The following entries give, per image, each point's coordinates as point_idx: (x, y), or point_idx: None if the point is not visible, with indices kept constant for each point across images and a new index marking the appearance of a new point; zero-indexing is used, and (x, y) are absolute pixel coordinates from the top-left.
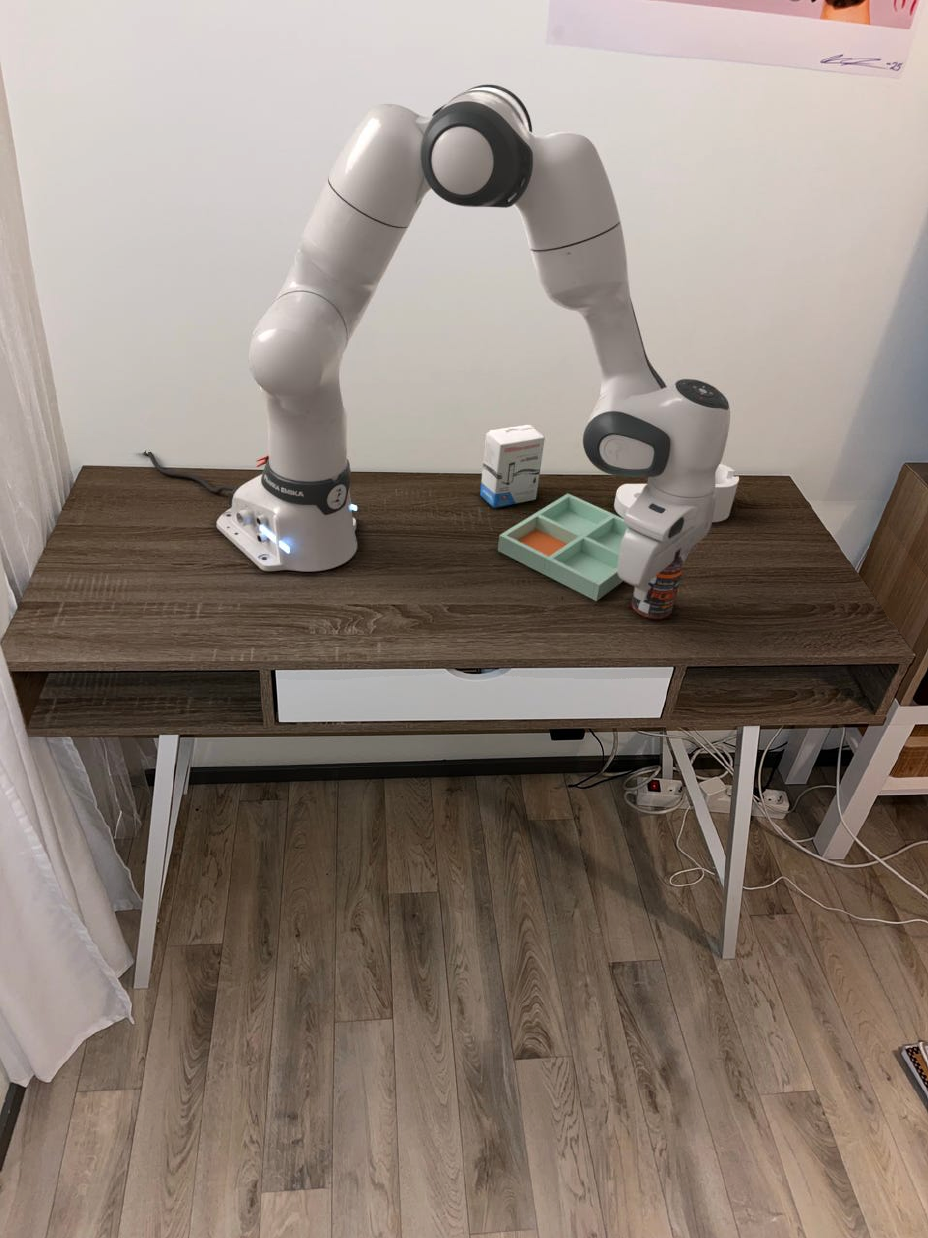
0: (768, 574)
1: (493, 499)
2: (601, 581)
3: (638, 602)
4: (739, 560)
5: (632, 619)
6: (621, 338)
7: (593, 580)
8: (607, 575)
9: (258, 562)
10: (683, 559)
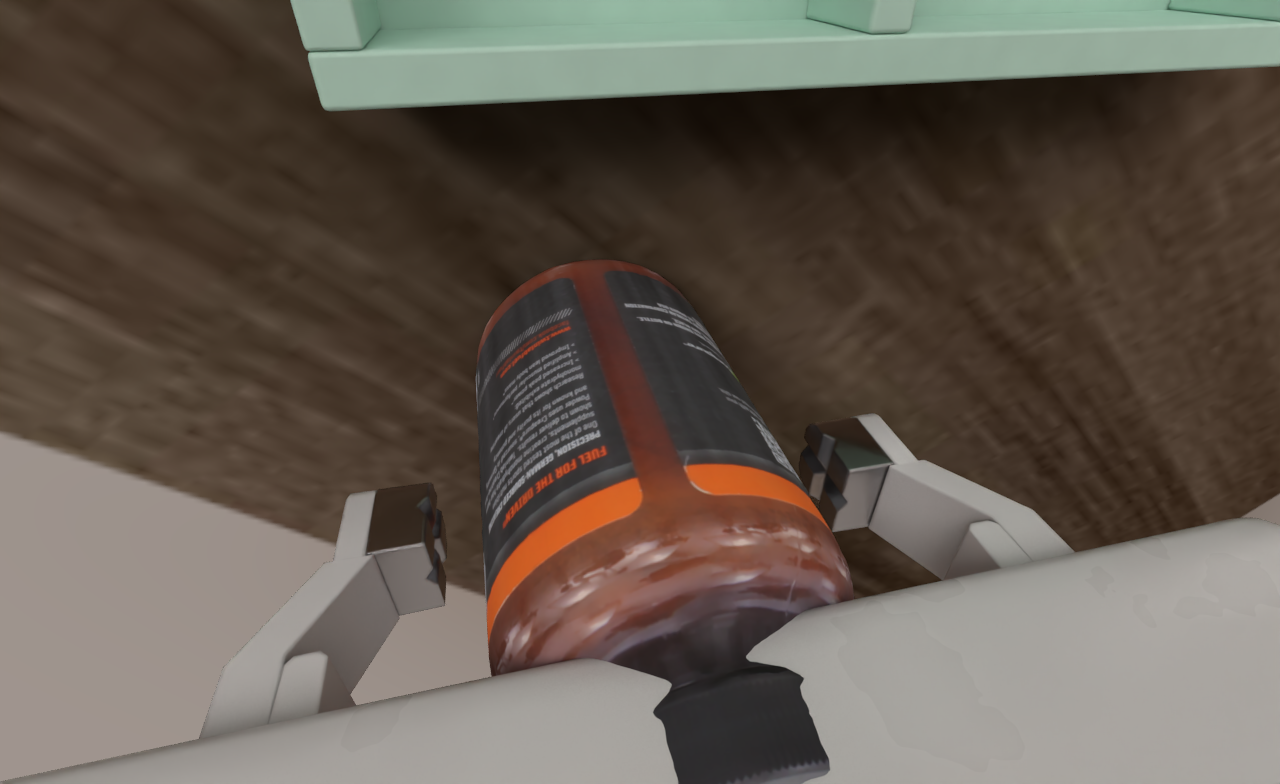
0: (1109, 459)
1: None
2: (388, 85)
3: (478, 389)
4: (1181, 355)
5: (426, 351)
6: None
7: (319, 10)
8: (515, 65)
9: None
10: (892, 538)
